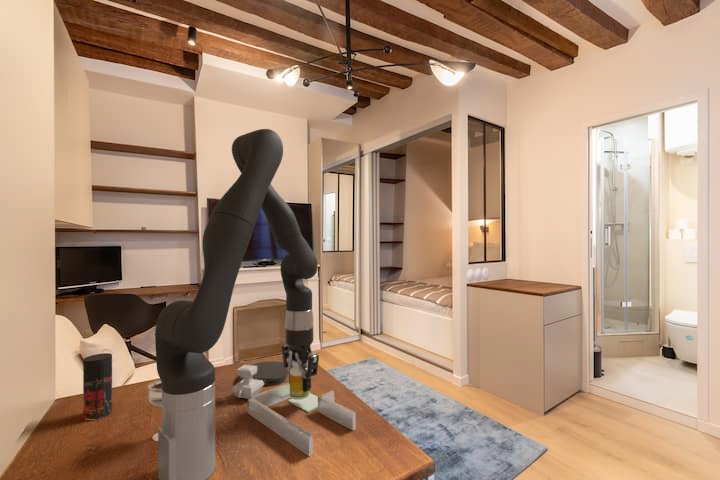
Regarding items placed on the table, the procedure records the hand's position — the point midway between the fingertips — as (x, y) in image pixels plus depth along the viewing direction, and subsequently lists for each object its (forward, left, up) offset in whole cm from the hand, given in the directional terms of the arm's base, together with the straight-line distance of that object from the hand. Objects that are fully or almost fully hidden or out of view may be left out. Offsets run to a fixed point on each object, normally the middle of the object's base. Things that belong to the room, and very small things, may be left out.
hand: (299, 387), depth 91 cm
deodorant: (-39, +35, -5) cm, 52 cm away
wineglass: (-30, +12, -5) cm, 32 cm away
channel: (-3, -6, -5) cm, 8 cm away
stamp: (-7, +16, -5) cm, 18 cm away
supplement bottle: (0, 0, -2) cm, 2 cm away
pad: (+3, 0, -5) cm, 6 cm away
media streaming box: (+4, +25, -6) cm, 26 cm away
